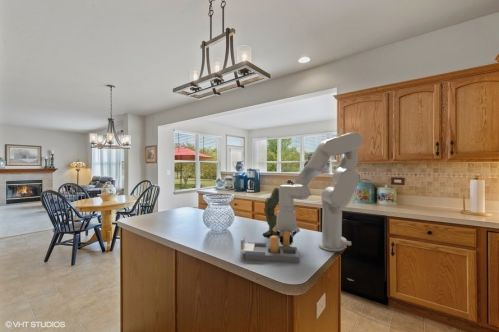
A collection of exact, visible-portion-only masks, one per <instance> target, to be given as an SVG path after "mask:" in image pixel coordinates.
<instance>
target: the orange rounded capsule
mask: <svg viewBox="0 0 499 332" xmlns="http://www.w3.org/2000/svg"><path fill="white" fill-rule="evenodd" d="M269 240H270V241H269V246H270V253H278V249H279V246H280V245H279V243H280V237H278V236H270V237H269Z"/></svg>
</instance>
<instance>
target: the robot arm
mask: <svg viewBox="0 0 499 332" xmlns="http://www.w3.org/2000/svg"><path fill="white" fill-rule="evenodd" d="M363 143H364V139H363V135H362V134H361V133H359V132H357V131H356V132H355V131H352V132H349V133H344V134H342V135H340V136H336V137H333V138H329V139H325V140H322V141H321V142H319V143H318V145H317V146H316V148H315V150H314V152H313V153H312V154H311V156H310V158H309V161H308V162H307V163H306V165H305V166H304V168H302V170H301V171H300V172H299V173H298V175H297V176H296V179H295V181H294V182H293V184H292V185H291V184H280V185H279V186H278V189H279V202H278V210H277V212H276V216H277V219H276V225H275V227H274V228H273V231H274V232H276V233H277V234H278V235H279V236H280V237H279V243H280V244H281V246H282V244H283V237H282V231H290V246H292V244H293V243H294V236H295V235H296V234H298V233H299V232H300V231H301V230H300V227H298V225H297V217H296V211H295V210H297V206H295V205H294V200H300V201H301V200H302V201H304V200H306V199H308V198H309V197H310V196H311V190H310V188H309V187H308V186H309V185H310V183H311V182H312V181H313V180H314V179H315V178H316V177H317V176H319V175H321V174H322V173H323V172H324V169H325V167H326V166H327V164H328V163H329V162H330V159H331V158H332V157H335V156H339V155H340V158H339V161H338V163H337V166H336V167H335V170H334V171H333V172H332V173H333V174H332V177H331V180H332V183H333V184H335V185H334V186H327V187H325V188H324V189H323V191H322V192H321V208H322V222H321V223H322V225H321V230H322V232H321V241H320V242H318V247H320V249H323V250H324V251H328V252H342V251H344V250H345V246H352V241H349V240H348V239H347V240H346V239H344V240H343V238H342V227H343V225H342V224H343V220H342V219H343V211H342V209H343V208H346V207H347V206H348V205H349V204H350V202H351V201H352V198H353V196H354V194H355V191H356V190H357V188H358V186H359V182H360V176H359V174H358V173H359V172H357V171H356V166H357V165H358V161H359V154H358V153H359V152H358V149H359V148H360V147H362V145H363ZM276 229H277V230H276Z"/></svg>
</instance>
